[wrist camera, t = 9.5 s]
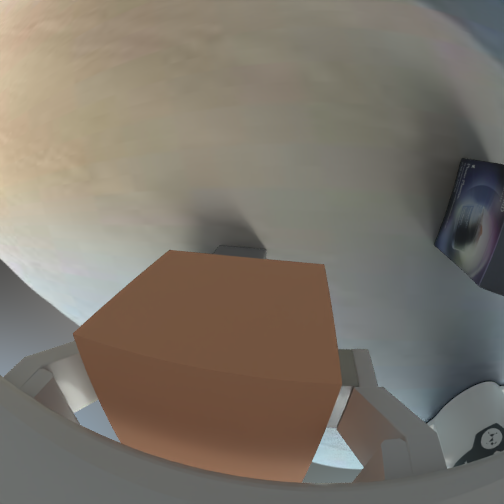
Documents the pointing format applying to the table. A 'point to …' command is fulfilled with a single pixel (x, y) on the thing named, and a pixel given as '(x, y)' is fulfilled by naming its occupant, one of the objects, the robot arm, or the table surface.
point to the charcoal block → (241, 252)
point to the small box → (476, 224)
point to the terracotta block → (218, 363)
